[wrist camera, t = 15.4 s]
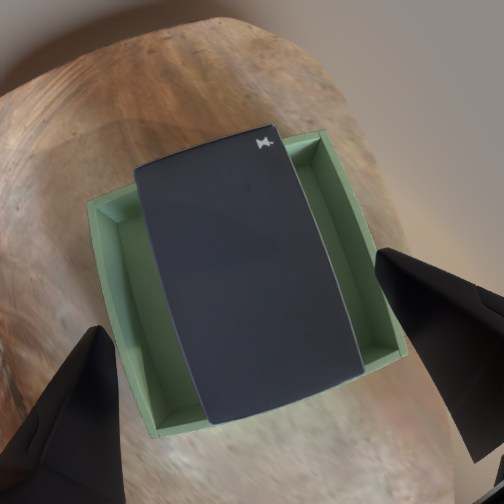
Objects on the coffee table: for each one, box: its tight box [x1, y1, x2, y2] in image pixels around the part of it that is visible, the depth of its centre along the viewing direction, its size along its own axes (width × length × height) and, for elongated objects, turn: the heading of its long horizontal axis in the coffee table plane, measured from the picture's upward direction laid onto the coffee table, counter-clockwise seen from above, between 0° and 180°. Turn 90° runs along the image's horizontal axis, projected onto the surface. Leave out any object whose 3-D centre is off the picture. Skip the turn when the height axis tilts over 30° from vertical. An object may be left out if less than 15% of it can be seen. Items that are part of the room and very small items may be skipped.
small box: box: [134, 124, 365, 425], centre depth 16 cm, size 11×6×10 cm, turn 19°
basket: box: [86, 129, 408, 439], centre depth 19 cm, size 16×15×4 cm
